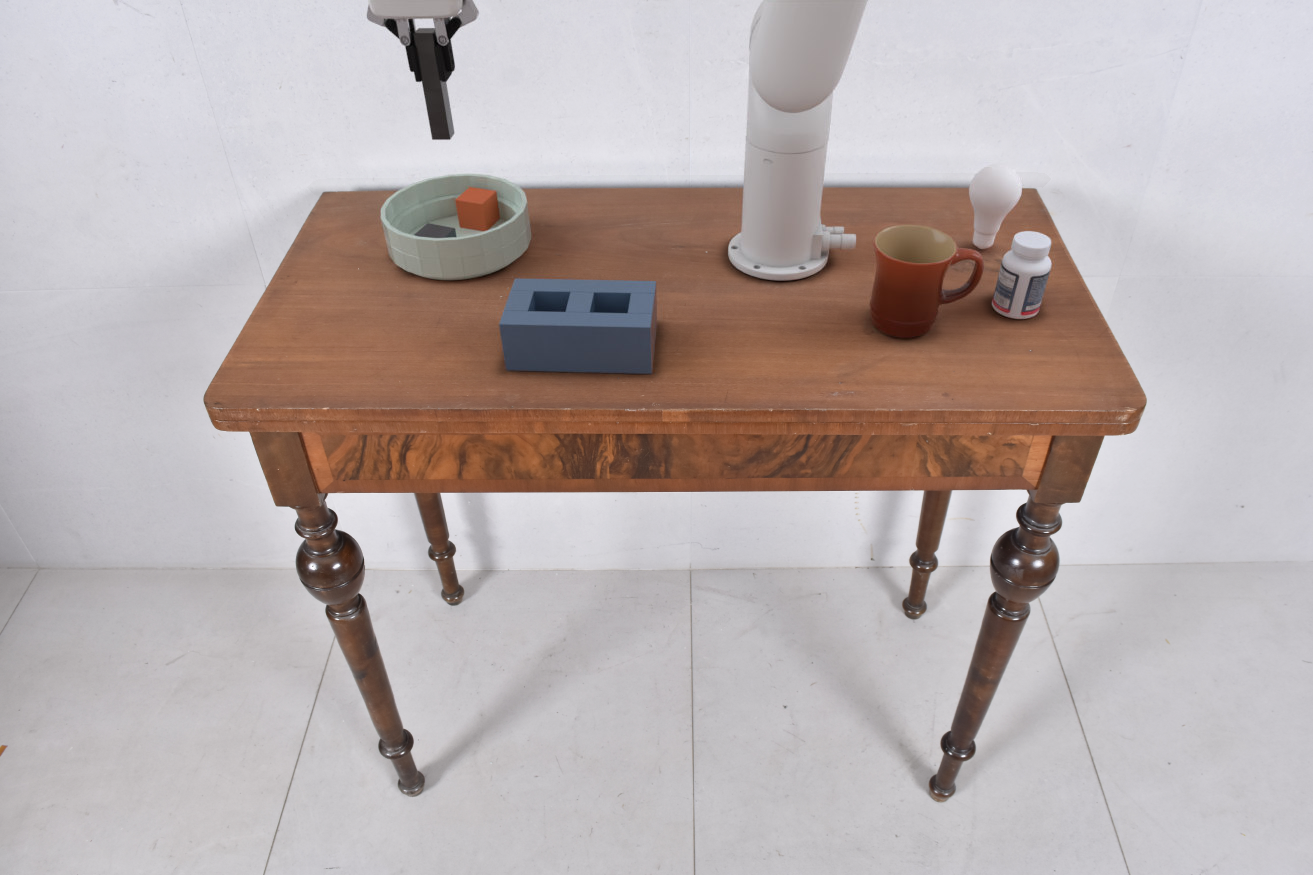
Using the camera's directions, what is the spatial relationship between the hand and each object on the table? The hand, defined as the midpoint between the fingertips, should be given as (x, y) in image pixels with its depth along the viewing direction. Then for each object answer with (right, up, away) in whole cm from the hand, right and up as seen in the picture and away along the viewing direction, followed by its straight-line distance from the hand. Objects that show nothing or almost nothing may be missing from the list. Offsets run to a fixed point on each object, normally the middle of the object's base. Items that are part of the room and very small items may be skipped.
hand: (434, 76), depth 107 cm
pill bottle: (+67, -27, +1) cm, 72 cm away
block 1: (-2, -20, +10) cm, 22 cm away
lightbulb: (+67, -18, +12) cm, 70 cm away
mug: (+55, -29, -1) cm, 62 cm away
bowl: (0, -17, +14) cm, 22 cm away
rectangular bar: (0, -6, +4) cm, 7 cm away
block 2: (+2, -13, +17) cm, 22 cm away
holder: (+18, -32, -4) cm, 36 cm away
